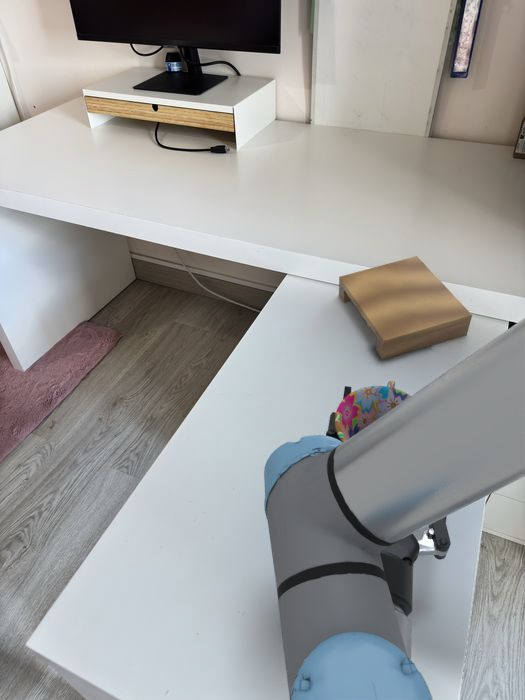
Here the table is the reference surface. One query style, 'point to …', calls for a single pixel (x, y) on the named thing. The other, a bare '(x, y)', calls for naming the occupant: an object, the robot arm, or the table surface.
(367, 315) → the shelf
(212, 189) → the table surface
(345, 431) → the mug
